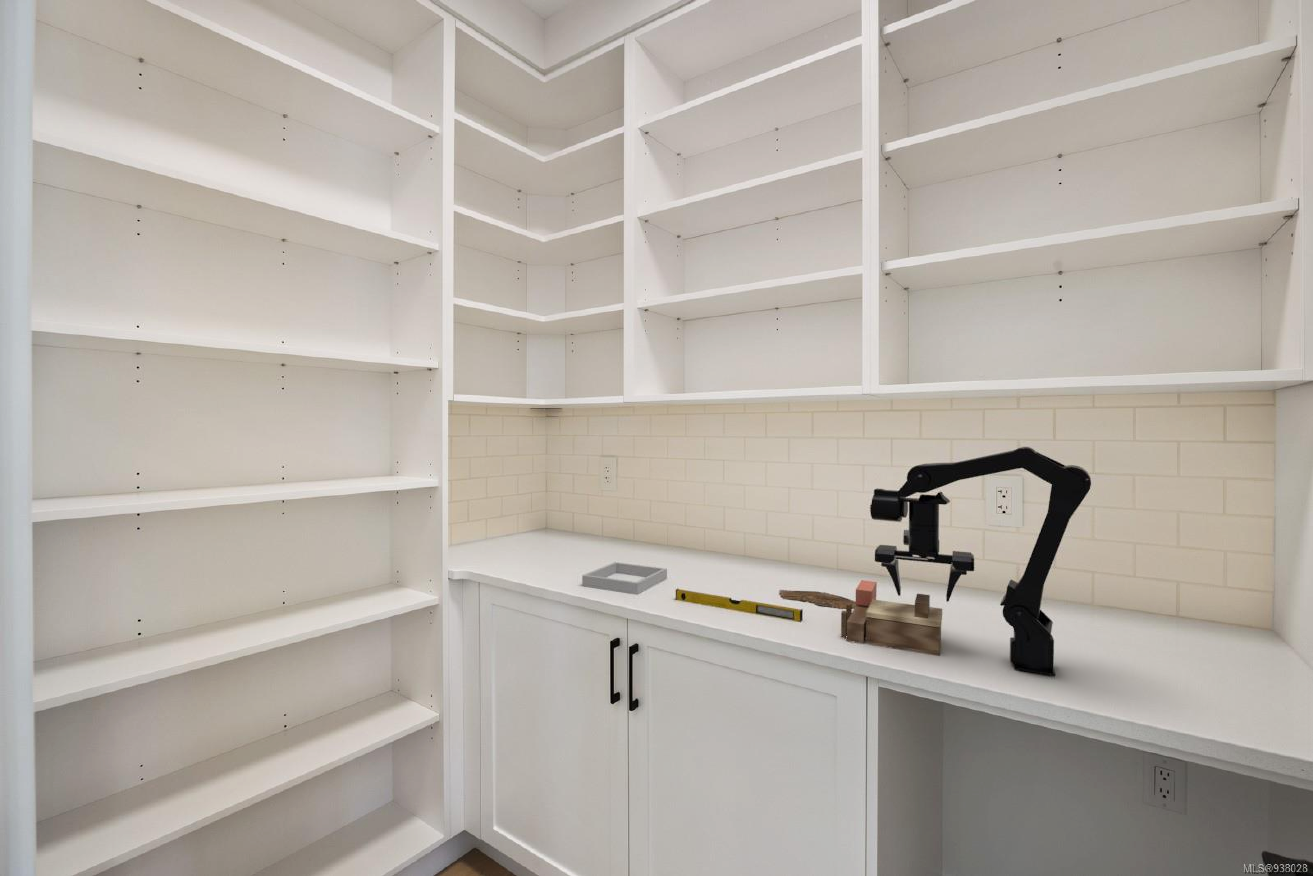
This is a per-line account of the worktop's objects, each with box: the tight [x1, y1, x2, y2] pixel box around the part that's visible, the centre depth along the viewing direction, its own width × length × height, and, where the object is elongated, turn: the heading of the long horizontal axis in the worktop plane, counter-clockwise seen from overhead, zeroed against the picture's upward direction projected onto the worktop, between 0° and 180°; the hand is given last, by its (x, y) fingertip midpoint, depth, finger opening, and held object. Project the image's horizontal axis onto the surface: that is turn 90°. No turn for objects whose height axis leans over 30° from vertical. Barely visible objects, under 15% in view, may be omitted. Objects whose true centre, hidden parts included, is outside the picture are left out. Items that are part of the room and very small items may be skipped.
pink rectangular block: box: [855, 580, 878, 606], centre depth 140 cm, size 4×9×4 cm, turn 153°
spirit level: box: [675, 588, 804, 623], centre depth 147 cm, size 33×1×3 cm, turn 59°
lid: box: [866, 593, 943, 629], centre depth 126 cm, size 14×10×4 cm
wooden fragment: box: [778, 589, 856, 610], centre depth 155 cm, size 26×11×1 cm, turn 53°
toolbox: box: [840, 597, 942, 656], centre depth 132 cm, size 19×21×6 cm
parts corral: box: [581, 561, 668, 595], centre depth 172 cm, size 18×18×3 cm
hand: (923, 598), depth 124 cm, fingers open, 9 cm apart
